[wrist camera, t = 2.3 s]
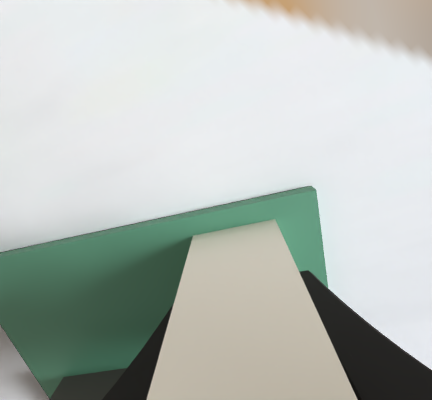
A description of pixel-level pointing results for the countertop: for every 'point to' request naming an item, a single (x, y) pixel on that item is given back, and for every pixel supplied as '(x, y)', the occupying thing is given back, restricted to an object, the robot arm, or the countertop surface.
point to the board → (124, 288)
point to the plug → (246, 326)
